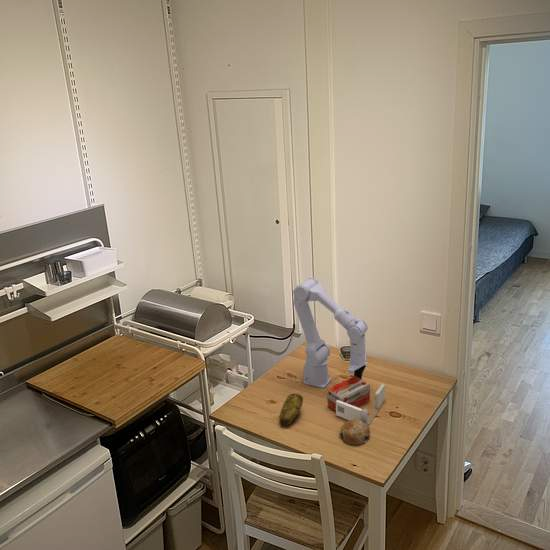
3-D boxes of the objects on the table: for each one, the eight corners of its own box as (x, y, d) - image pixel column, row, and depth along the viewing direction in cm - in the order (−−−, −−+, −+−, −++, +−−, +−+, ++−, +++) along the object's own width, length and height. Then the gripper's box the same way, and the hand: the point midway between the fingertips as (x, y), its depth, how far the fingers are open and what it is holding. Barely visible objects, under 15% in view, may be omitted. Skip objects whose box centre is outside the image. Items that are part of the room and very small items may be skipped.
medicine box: (341, 416, 215) (341, 397, 212) (327, 407, 222) (326, 389, 219) (370, 400, 224) (370, 383, 221) (355, 392, 230) (355, 374, 227)
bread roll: (357, 456, 199) (366, 441, 195) (332, 438, 202) (341, 423, 198) (368, 440, 207) (377, 425, 203) (344, 422, 210) (353, 408, 206)
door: (360, 425, 209) (360, 410, 207) (336, 415, 215) (335, 401, 213) (362, 423, 210) (362, 409, 208) (337, 413, 216) (337, 399, 214)
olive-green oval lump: (270, 421, 215) (269, 402, 212) (294, 405, 224) (293, 388, 221) (287, 429, 210) (286, 411, 207) (310, 413, 218) (309, 395, 215)
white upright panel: (360, 427, 208) (360, 411, 206) (380, 398, 225) (380, 382, 223) (366, 428, 207) (366, 412, 205) (386, 399, 224) (386, 384, 222)
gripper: (360, 361, 215) (360, 393, 220) (374, 344, 227) (374, 375, 232) (343, 358, 219) (343, 389, 223) (357, 341, 230) (357, 371, 235)
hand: (358, 381), depth 228 cm, fingers closed, pressing on medicine box
